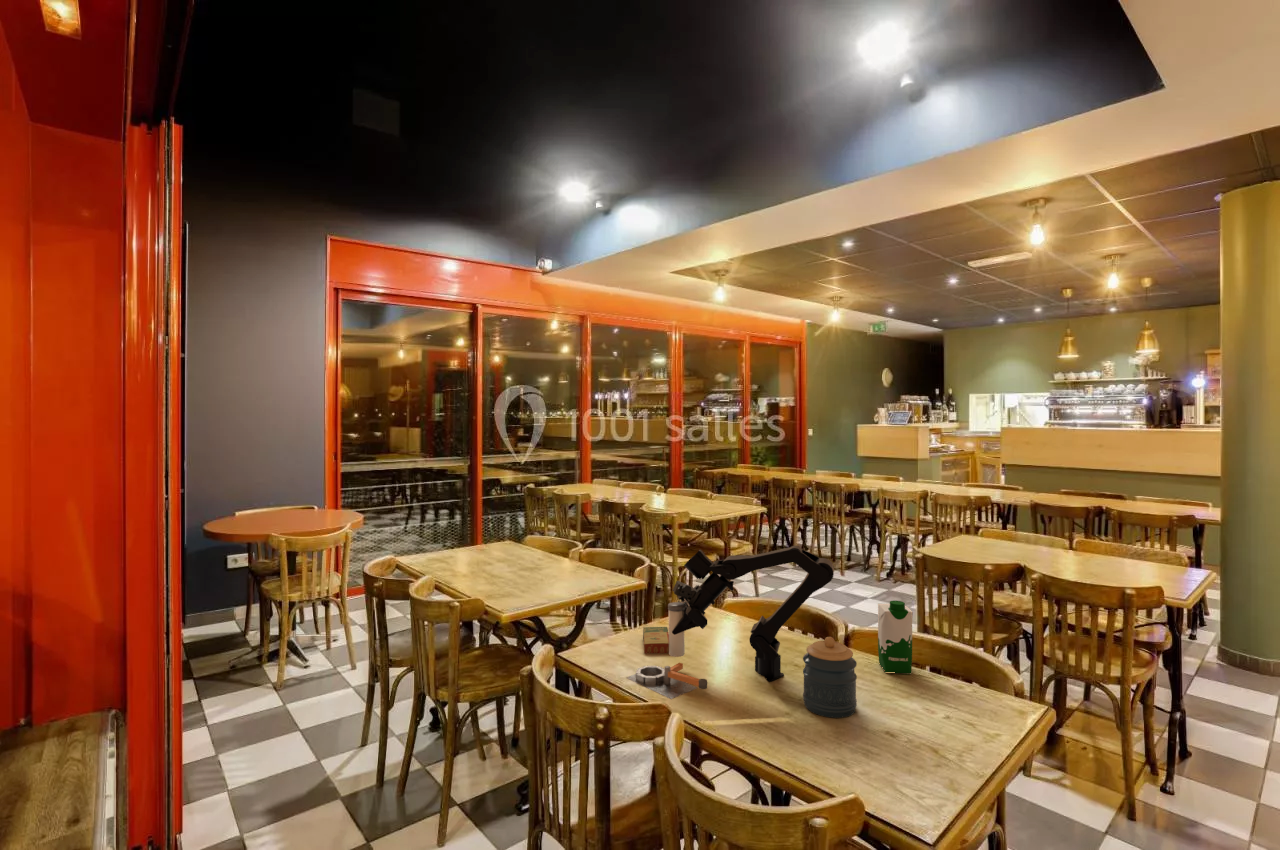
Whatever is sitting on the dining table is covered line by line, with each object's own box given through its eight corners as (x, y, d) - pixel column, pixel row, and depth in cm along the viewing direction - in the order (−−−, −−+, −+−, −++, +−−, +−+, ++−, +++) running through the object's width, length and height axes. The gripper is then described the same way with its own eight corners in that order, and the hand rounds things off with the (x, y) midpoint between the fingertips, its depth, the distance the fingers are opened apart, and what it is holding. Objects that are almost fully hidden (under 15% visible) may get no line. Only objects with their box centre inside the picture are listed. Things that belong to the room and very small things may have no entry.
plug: (688, 653, 181) (688, 604, 181) (676, 658, 178) (676, 608, 178) (676, 649, 184) (676, 601, 184) (664, 653, 181) (664, 604, 181)
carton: (643, 657, 193) (643, 643, 193) (642, 638, 209) (642, 626, 209) (671, 656, 193) (670, 642, 193) (667, 638, 209) (667, 625, 209)
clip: (719, 686, 168) (719, 670, 168) (704, 697, 162) (704, 680, 162) (678, 674, 177) (678, 659, 176) (662, 683, 170) (662, 667, 170)
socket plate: (697, 690, 168) (697, 681, 168) (671, 702, 161) (671, 692, 161) (652, 670, 181) (652, 661, 181) (625, 680, 175) (625, 671, 175)
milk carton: (883, 674, 178) (883, 604, 178) (874, 662, 187) (874, 595, 187) (915, 676, 177) (915, 605, 177) (905, 663, 186) (905, 596, 186)
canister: (820, 722, 151) (820, 648, 150) (793, 698, 163) (793, 631, 163) (867, 715, 154) (867, 643, 154) (837, 692, 167) (837, 626, 166)
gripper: (684, 564, 191) (648, 602, 190) (695, 580, 172) (655, 622, 171) (710, 589, 191) (674, 627, 190) (723, 607, 173) (684, 649, 172)
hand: (671, 630), depth 181 cm, fingers closed on plug, 4 cm apart
